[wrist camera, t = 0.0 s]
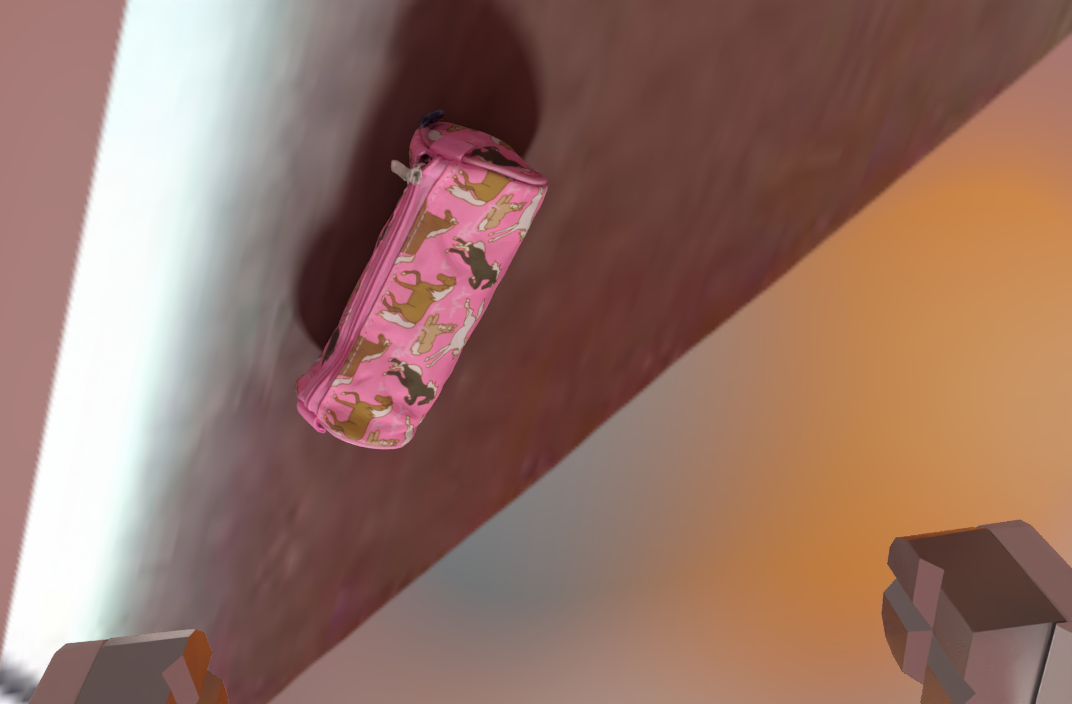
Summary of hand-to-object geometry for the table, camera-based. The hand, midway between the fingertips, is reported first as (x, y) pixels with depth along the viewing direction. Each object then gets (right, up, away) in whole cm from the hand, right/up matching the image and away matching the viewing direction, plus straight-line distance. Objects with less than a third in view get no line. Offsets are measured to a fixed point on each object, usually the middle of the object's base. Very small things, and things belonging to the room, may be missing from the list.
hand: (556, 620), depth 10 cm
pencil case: (-8, +9, +49) cm, 51 cm away
